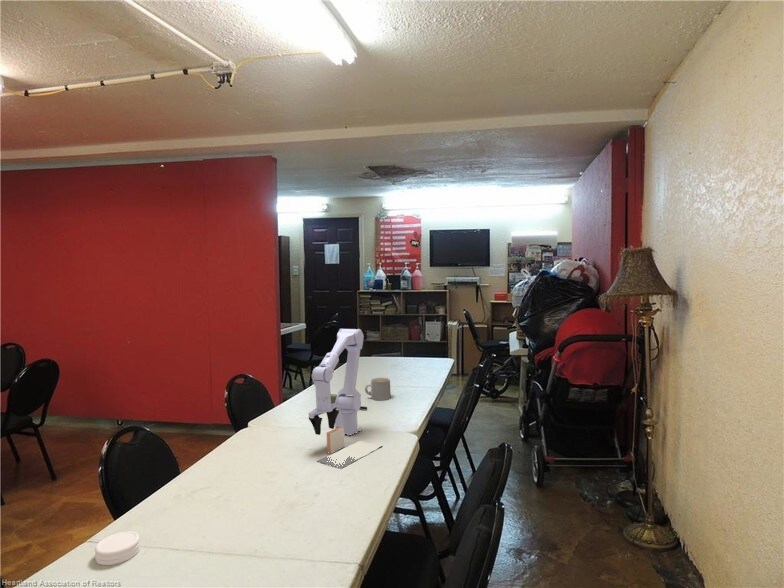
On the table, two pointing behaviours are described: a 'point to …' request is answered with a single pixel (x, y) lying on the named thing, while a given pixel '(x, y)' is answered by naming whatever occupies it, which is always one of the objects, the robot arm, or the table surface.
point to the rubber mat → (325, 459)
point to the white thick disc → (117, 548)
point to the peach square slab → (335, 439)
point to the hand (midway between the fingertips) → (324, 431)
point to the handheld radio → (334, 396)
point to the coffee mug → (379, 389)
